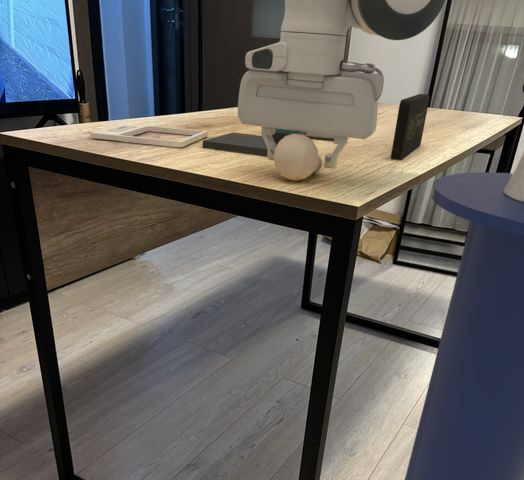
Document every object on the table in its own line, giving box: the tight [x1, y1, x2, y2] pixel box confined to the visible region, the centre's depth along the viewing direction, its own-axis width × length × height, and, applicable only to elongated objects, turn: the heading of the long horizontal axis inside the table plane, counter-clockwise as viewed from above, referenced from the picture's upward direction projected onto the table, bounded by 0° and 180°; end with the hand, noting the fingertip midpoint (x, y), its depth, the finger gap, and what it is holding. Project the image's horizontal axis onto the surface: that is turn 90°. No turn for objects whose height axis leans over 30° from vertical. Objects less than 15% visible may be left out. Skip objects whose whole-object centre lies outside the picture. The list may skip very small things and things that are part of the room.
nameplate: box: [390, 93, 431, 161], centre depth 104 cm, size 21×2×10 cm, turn 156°
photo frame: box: [89, 122, 209, 148], centre depth 104 cm, size 15×1×18 cm
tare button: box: [277, 129, 298, 133], centre depth 102 cm, size 4×4×2 cm
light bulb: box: [273, 134, 323, 182], centre depth 80 cm, size 7×7×11 cm
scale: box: [202, 128, 306, 157], centre depth 101 cm, size 16×14×3 cm
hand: (301, 163), depth 80 cm, fingers open, 8 cm apart
